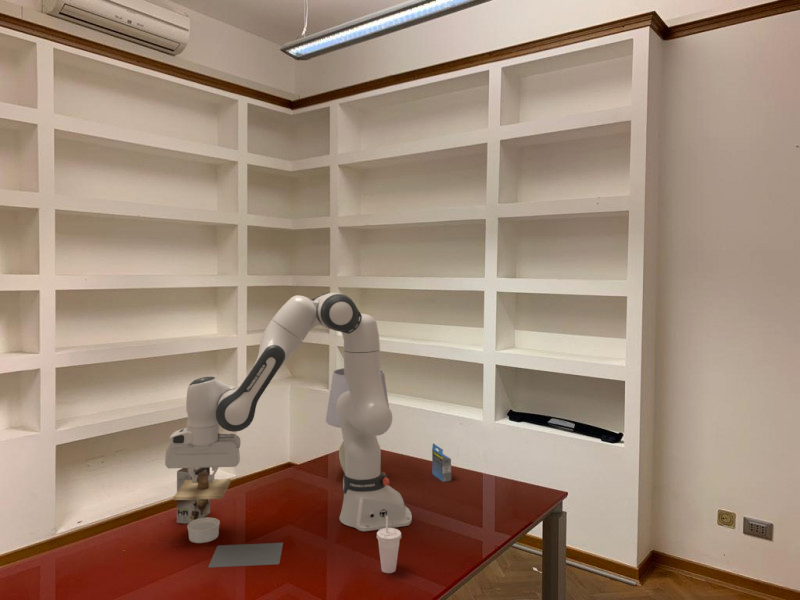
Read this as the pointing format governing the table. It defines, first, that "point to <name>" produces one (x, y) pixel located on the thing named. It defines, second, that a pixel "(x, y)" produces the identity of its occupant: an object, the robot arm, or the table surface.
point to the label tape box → (441, 464)
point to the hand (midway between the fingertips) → (203, 481)
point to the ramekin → (203, 530)
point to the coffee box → (194, 507)
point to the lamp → (337, 389)
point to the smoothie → (388, 547)
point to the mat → (246, 555)
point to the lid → (202, 488)
